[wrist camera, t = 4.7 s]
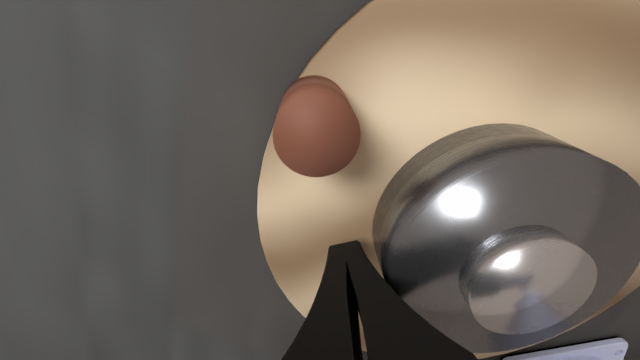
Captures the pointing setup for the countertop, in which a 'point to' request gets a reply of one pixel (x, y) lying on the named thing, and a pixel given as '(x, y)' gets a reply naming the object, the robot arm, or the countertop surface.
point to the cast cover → (506, 235)
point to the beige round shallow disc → (437, 111)
